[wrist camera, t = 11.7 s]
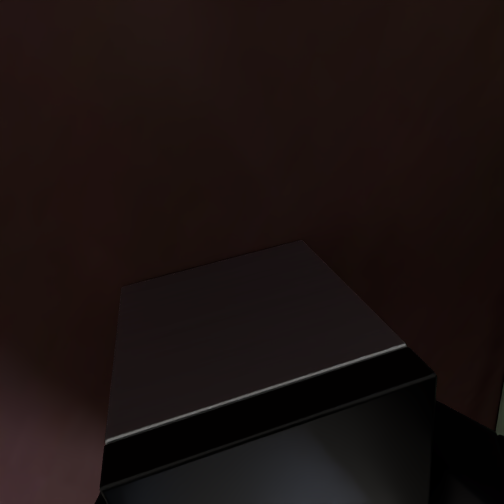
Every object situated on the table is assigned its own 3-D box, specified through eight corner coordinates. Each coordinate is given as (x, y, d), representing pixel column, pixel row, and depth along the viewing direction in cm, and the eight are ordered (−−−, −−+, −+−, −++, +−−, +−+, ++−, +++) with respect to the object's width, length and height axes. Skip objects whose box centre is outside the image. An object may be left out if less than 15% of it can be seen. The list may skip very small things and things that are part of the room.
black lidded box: (301, 238, 9) (439, 374, 5) (323, 425, 11) (422, 614, 7) (120, 286, 8) (97, 491, 4) (188, 472, 11) (214, 708, 7)
